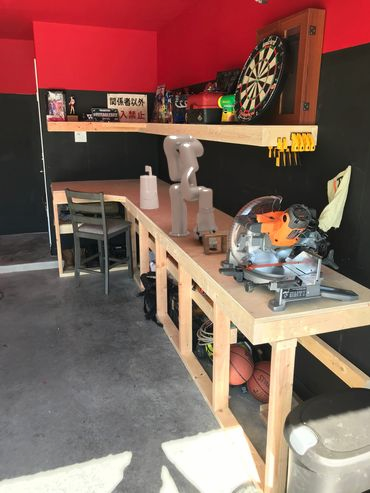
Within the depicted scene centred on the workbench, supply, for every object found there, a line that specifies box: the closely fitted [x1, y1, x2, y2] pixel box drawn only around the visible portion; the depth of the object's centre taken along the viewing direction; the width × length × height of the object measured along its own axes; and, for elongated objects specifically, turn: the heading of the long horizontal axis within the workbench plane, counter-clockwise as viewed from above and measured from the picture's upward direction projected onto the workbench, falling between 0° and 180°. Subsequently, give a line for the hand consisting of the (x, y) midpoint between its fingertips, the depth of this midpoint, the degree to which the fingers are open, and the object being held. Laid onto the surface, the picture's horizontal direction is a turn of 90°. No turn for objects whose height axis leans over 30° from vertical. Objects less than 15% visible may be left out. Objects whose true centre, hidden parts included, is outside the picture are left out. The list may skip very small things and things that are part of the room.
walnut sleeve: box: [203, 232, 228, 256], centre depth 226 cm, size 4×12×10 cm, turn 106°
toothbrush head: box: [193, 232, 218, 249], centre depth 241 cm, size 5×7×25 cm
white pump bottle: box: [139, 165, 160, 210], centre depth 343 cm, size 15×15×33 cm
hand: (205, 242), depth 242 cm, fingers closed on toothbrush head, 5 cm apart
